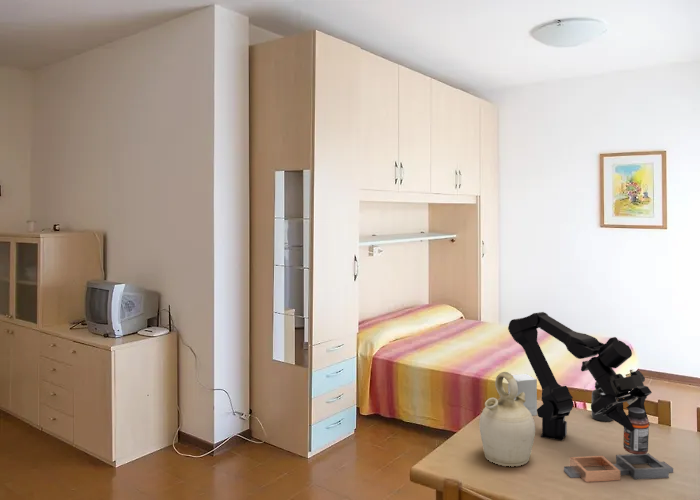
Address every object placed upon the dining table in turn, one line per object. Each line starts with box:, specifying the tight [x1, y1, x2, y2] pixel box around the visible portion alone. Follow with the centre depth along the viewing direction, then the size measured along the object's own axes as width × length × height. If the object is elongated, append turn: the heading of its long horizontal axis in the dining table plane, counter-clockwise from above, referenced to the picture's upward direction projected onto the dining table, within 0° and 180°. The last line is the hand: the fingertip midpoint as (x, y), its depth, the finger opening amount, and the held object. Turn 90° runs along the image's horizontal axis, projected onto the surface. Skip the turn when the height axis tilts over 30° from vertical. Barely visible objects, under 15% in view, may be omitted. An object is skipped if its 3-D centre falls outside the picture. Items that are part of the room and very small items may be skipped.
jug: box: [478, 371, 536, 468], centre depth 162 cm, size 15×16×25 cm
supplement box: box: [507, 373, 538, 417], centre depth 197 cm, size 7×7×13 cm
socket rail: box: [563, 452, 674, 483], centre depth 152 cm, size 28×9×2 cm, turn 93°
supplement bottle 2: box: [623, 407, 650, 455], centre depth 152 cm, size 6×6×11 cm
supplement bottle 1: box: [591, 381, 614, 422], centre depth 190 cm, size 7×7×12 cm
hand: (640, 428), depth 150 cm, fingers closed on supplement bottle 2, 6 cm apart
